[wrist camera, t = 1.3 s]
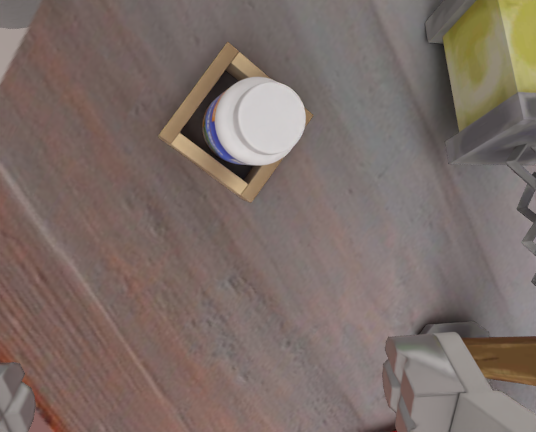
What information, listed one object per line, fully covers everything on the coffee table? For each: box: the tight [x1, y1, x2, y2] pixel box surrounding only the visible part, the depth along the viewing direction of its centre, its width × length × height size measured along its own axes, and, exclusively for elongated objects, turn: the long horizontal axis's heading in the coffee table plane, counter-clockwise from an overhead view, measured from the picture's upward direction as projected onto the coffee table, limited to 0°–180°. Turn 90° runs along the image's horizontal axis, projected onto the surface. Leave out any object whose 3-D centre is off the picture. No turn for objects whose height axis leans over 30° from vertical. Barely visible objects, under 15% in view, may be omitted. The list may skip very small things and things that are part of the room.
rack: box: [158, 42, 313, 203], centre depth 33 cm, size 8×8×2 cm
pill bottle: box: [202, 77, 306, 166], centre depth 29 cm, size 5×5×10 cm
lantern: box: [419, 0, 536, 386], centre depth 35 cm, size 8×17×30 cm
